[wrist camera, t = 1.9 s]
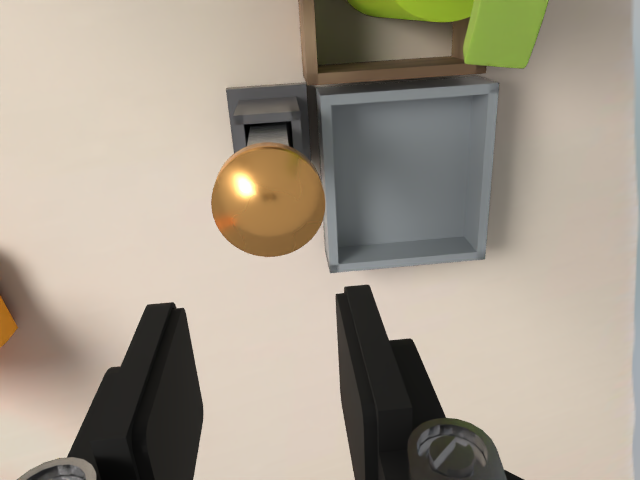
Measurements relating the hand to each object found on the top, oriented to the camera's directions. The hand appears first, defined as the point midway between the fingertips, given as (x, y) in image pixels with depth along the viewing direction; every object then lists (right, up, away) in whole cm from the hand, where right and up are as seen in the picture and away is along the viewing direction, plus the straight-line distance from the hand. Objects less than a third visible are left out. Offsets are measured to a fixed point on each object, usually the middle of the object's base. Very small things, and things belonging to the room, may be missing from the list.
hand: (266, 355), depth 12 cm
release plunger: (-2, +9, +20) cm, 22 cm away
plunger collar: (-2, +10, +23) cm, 25 cm away
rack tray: (+7, +7, +25) cm, 27 cm away
